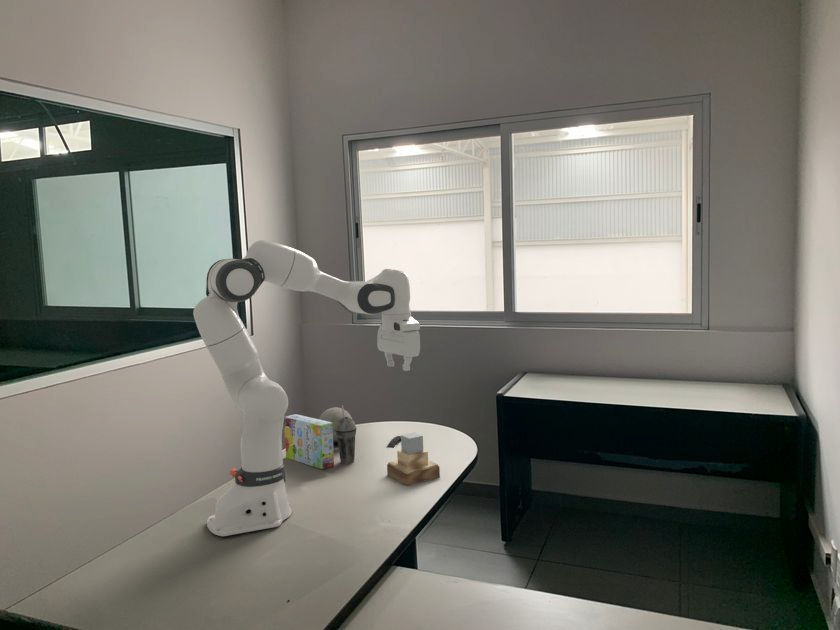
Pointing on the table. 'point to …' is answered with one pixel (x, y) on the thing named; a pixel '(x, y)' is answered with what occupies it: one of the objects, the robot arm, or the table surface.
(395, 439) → the black long flat piece
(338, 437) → the beverage cup
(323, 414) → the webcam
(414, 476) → the plinth
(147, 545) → the table surface
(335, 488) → the table surface
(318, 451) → the snack box
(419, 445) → the grey cube
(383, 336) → the robot arm
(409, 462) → the oak block
